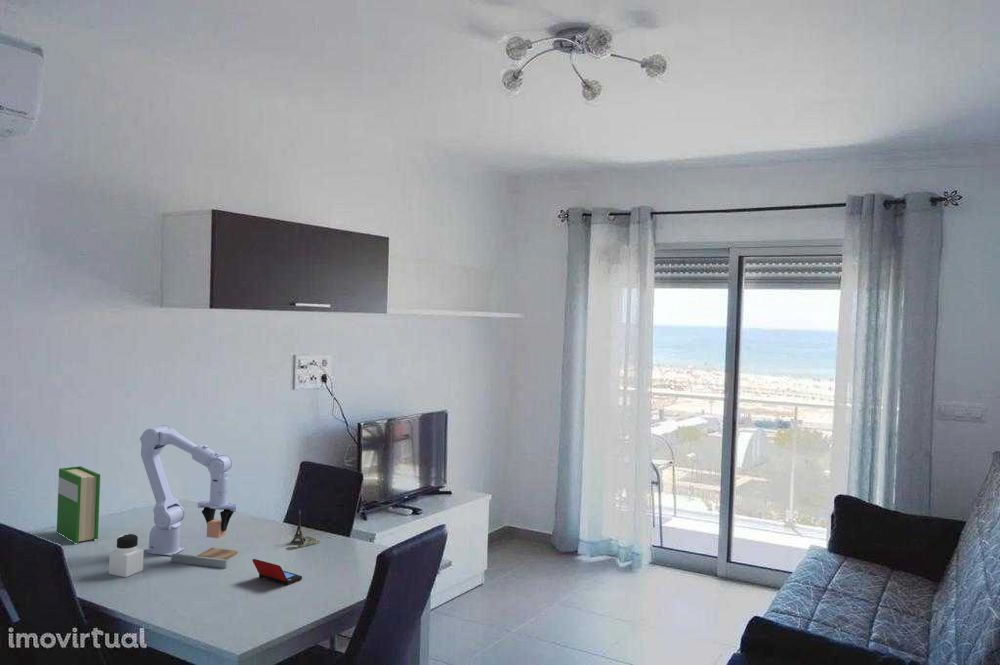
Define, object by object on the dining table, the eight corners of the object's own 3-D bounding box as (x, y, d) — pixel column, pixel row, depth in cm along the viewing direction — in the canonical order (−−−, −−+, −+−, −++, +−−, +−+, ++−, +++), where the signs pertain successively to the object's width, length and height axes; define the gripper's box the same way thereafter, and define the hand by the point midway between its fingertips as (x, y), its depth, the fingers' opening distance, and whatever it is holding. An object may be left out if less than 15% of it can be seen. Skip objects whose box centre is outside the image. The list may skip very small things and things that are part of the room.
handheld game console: (303, 579, 242) (304, 557, 242) (279, 589, 233) (280, 566, 233) (275, 571, 248) (276, 549, 248) (250, 581, 239) (251, 558, 239)
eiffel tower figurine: (289, 551, 270) (290, 515, 269) (273, 545, 276) (274, 509, 276) (323, 543, 281) (324, 508, 281) (307, 537, 288) (308, 502, 287)
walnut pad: (195, 559, 255) (195, 556, 255) (211, 550, 265) (211, 547, 265) (221, 562, 254) (222, 559, 254) (237, 553, 264) (237, 550, 263)
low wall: (171, 561, 252) (171, 554, 252) (173, 560, 253) (173, 553, 253) (225, 568, 249) (225, 560, 248) (227, 567, 250) (227, 559, 249)
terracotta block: (206, 536, 257) (207, 522, 256) (213, 533, 261) (214, 519, 261) (218, 538, 256) (219, 523, 256) (225, 534, 260) (226, 520, 260)
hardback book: (97, 540, 270) (100, 474, 269) (75, 544, 264) (78, 477, 264) (78, 529, 281) (80, 466, 281) (56, 533, 276) (59, 468, 275)
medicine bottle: (143, 570, 242) (144, 534, 242) (125, 577, 236) (127, 540, 235) (126, 567, 245) (127, 531, 244) (108, 574, 238) (109, 536, 238)
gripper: (193, 491, 256) (191, 530, 256) (231, 495, 253) (230, 535, 254) (204, 487, 263) (203, 525, 263) (242, 491, 260) (241, 529, 261)
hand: (217, 530), depth 259 cm, fingers closed on terracotta block, 4 cm apart
